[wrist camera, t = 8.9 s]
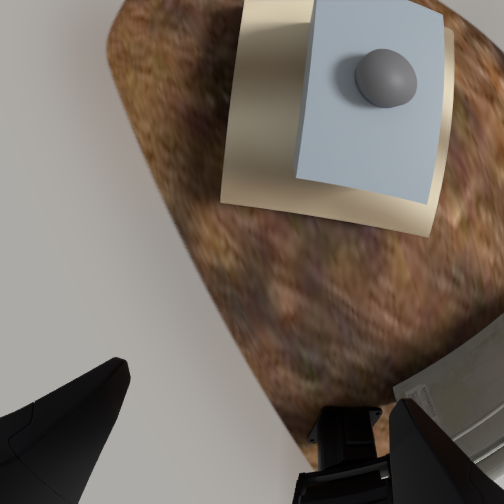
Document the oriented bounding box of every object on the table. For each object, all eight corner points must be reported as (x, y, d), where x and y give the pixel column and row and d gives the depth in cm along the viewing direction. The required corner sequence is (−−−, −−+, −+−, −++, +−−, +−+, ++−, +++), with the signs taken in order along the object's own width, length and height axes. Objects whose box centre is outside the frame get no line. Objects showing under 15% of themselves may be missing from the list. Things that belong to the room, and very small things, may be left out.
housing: (309, 22, 11) (320, -34, 6) (401, 44, 11) (451, 9, 5) (292, 165, 14) (297, 181, 9) (385, 183, 14) (436, 210, 8)
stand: (410, 222, 17) (428, 237, 14) (230, 192, 18) (220, 202, 15) (432, 42, 12) (453, 31, 10) (253, 2, 13) (247, -19, 10)
